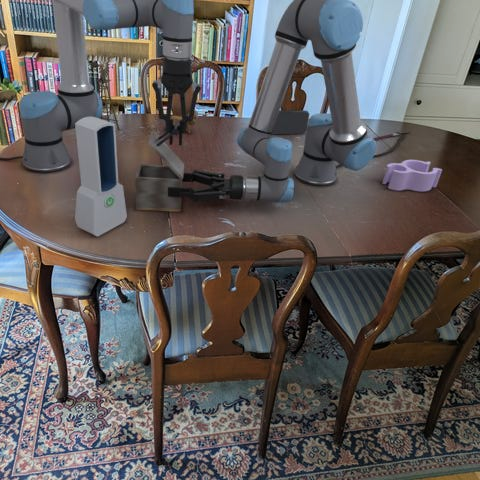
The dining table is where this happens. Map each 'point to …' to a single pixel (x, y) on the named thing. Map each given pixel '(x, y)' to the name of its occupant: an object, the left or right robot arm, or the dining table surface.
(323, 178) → the right robot arm
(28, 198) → the dining table surface
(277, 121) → the handheld gaming console
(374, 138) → the sword
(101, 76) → the miniature windmill
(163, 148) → the lid
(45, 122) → the left robot arm
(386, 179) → the clip
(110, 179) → the electronic device
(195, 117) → the lion figurine
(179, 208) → the chest
